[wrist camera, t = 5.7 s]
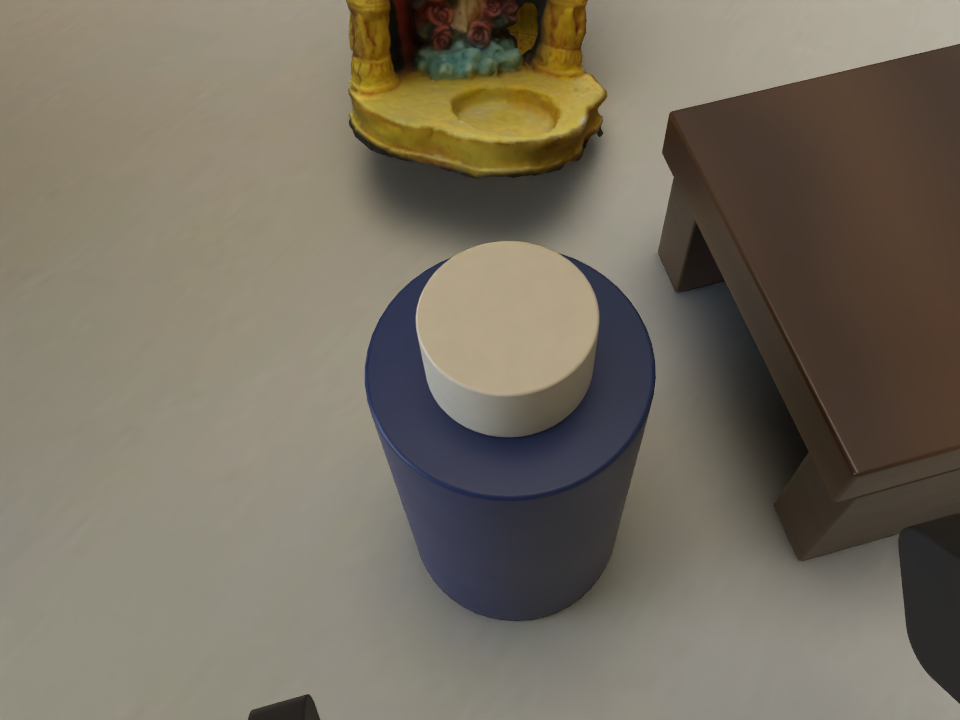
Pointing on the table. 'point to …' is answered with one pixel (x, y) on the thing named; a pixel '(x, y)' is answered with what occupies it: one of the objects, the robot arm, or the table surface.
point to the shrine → (473, 83)
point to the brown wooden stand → (839, 278)
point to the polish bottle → (511, 422)
